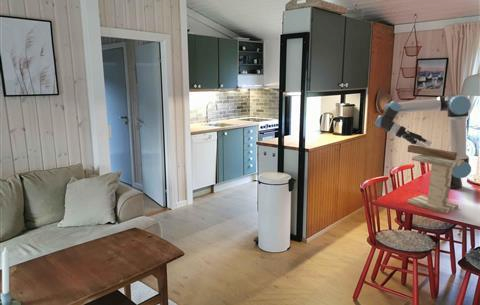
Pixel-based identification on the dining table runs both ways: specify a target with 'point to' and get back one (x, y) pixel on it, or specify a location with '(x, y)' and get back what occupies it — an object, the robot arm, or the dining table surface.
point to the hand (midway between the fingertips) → (428, 145)
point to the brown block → (432, 152)
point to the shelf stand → (437, 184)
